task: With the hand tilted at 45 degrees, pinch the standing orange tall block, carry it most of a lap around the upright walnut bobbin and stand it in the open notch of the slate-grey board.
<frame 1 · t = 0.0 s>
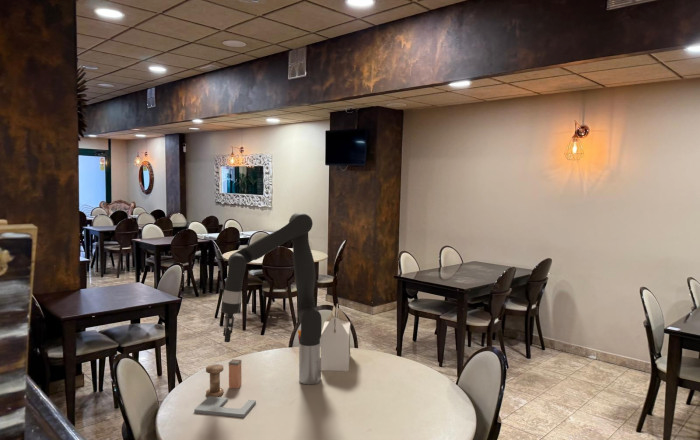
hand: (226, 338, 196), 22 cm above the table, tool pointing down, fingers open, 8 cm apart
orange tall block: (235, 386, 203), on the table
gable box: (335, 363, 232), on the table
french fries: (305, 352, 247), on the table
bobbin: (214, 393, 195), on the table
notched board: (225, 407, 182), on the table
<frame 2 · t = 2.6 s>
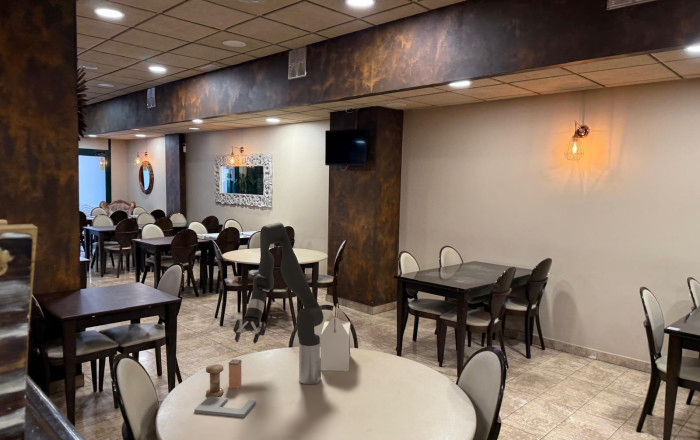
hand: (245, 342, 213), 16 cm above the table, tool tilted 45°, fingers open, 8 cm apart
nothing on the table moved.
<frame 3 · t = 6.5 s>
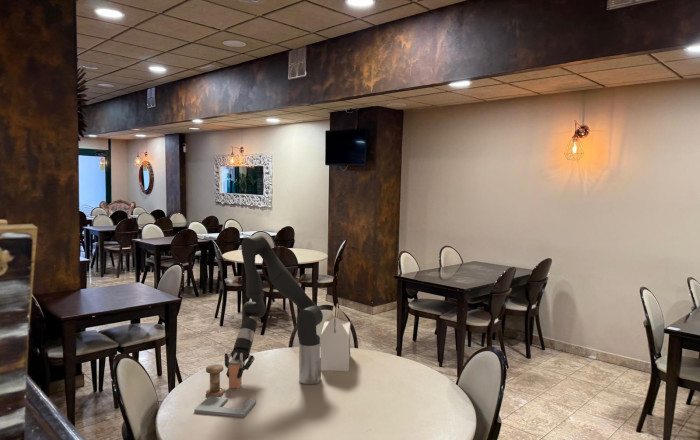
hand: (233, 377, 201), 5 cm above the table, tool tilted 45°, fingers closed on orange tall block, 4 cm apart
orange tall block: (235, 385, 203), on the table, touching gripper
everything else where it was.
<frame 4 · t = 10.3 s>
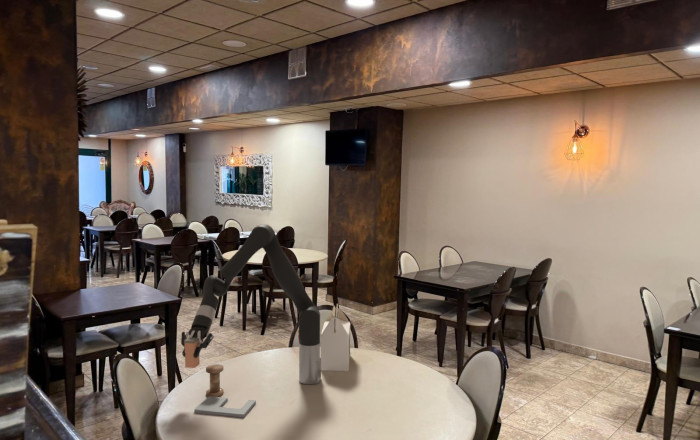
hand: (189, 356, 187), 18 cm above the table, tool tilted 45°, fingers closed on orange tall block, 4 cm apart
orange tall block: (192, 365, 189), point 14 cm above the table, touching gripper
everything else where it was.
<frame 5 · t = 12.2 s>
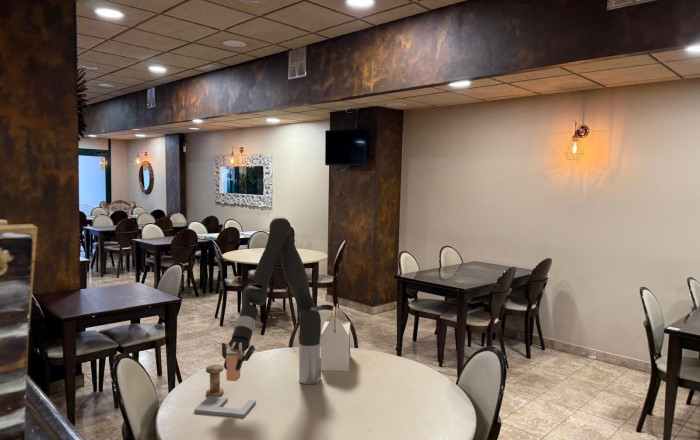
hand: (231, 369, 181), 16 cm above the table, tool tilted 45°, fingers closed on orange tall block, 4 cm apart
orange tall block: (233, 378, 183), point 11 cm above the table, touching gripper
everything else where it was.
when the fingers open (6 cm above the table, at t = 14.1 s): orange tall block drops 1 cm, on the table.
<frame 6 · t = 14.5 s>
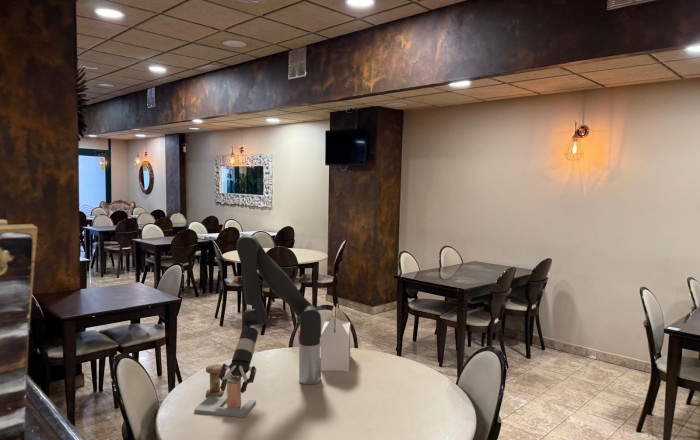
hand: (232, 391, 182), 7 cm above the table, tool tilted 45°, fingers open, 7 cm apart
orange tall block: (234, 406, 184), on the table
everything else where it was.
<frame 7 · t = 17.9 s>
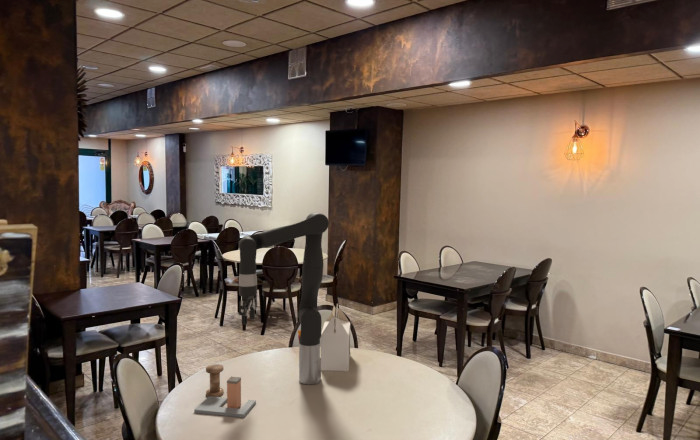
hand: (248, 321, 199), 29 cm above the table, tool pointing down, fingers open, 8 cm apart
nothing on the table moved.
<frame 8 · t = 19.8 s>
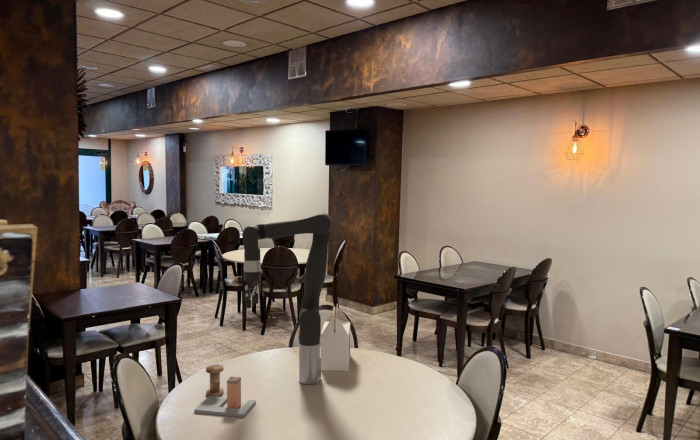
hand: (252, 305, 210), 33 cm above the table, tool pointing down, fingers open, 8 cm apart
nothing on the table moved.
at the end: orange tall block inside the target area (0.1 cm from its centre), on the table; orange tall block tilted 0°; the gripper is holding nothing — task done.
